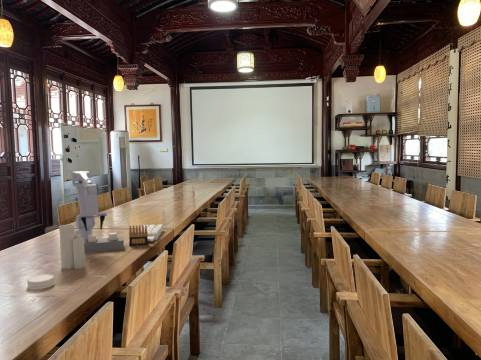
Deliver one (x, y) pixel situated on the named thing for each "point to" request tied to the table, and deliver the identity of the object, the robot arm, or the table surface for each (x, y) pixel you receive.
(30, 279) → the coaster
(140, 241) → the ammunition clip
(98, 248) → the block
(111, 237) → the peg right
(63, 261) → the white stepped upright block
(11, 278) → the table surface
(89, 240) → the peg left
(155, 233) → the organizer
